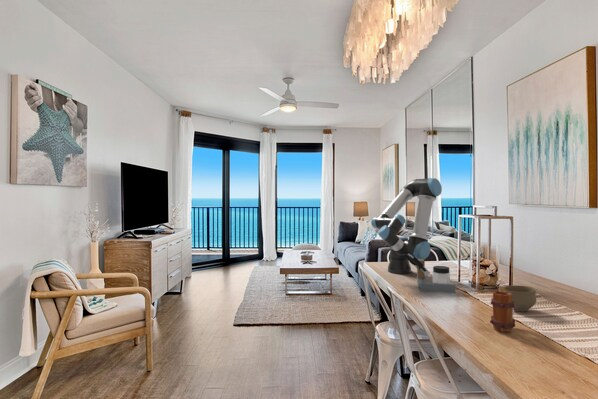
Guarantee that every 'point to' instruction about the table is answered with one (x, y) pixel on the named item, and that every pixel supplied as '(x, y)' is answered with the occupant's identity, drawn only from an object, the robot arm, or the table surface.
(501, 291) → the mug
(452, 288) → the pull strip
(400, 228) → the robot arm
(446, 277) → the jar
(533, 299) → the bowl
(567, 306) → the table surface
